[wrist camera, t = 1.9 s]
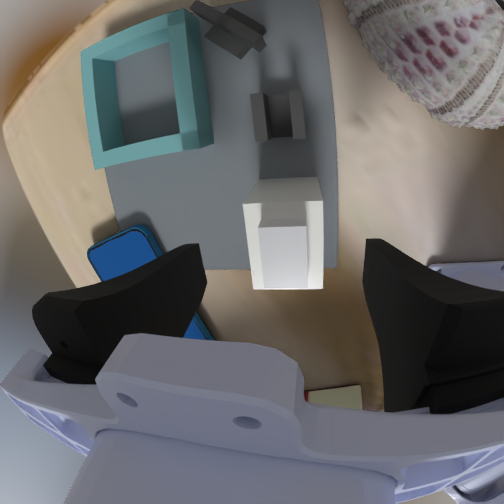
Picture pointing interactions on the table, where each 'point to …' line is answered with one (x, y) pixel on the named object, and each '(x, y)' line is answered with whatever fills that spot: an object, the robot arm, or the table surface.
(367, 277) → the robot arm
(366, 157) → the table surface
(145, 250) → the smartphone
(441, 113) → the sea urchin shell
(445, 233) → the table surface
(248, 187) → the board
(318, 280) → the connector plug
